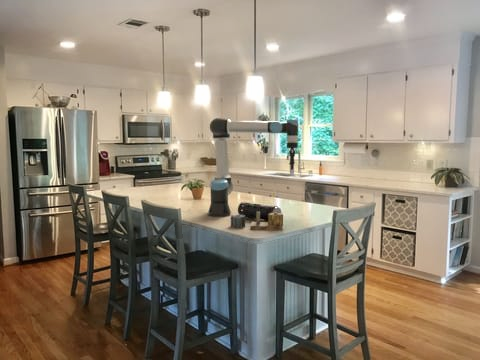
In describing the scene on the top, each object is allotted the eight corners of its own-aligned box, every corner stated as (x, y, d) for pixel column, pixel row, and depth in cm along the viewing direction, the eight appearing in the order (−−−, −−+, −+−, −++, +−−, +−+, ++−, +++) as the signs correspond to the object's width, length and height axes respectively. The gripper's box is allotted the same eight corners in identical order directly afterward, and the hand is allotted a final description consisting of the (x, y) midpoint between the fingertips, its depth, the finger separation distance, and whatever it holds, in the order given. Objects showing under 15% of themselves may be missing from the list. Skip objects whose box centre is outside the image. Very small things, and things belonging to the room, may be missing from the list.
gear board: (250, 229, 221) (250, 213, 220) (252, 225, 232) (252, 210, 231) (282, 230, 219) (283, 214, 218) (283, 225, 230) (283, 210, 229)
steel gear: (229, 227, 226) (229, 217, 225) (232, 224, 234) (232, 214, 234) (244, 227, 225) (244, 217, 224) (245, 224, 233) (245, 214, 232)
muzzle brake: (246, 216, 259) (246, 200, 258) (282, 221, 242) (282, 205, 241) (237, 218, 252) (237, 202, 251) (273, 224, 234) (273, 207, 233)
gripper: (298, 142, 252) (297, 175, 254) (297, 142, 277) (296, 172, 279) (286, 142, 253) (286, 175, 255) (286, 142, 278) (286, 171, 280)
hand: (291, 173), depth 267 cm, fingers open, 13 cm apart
